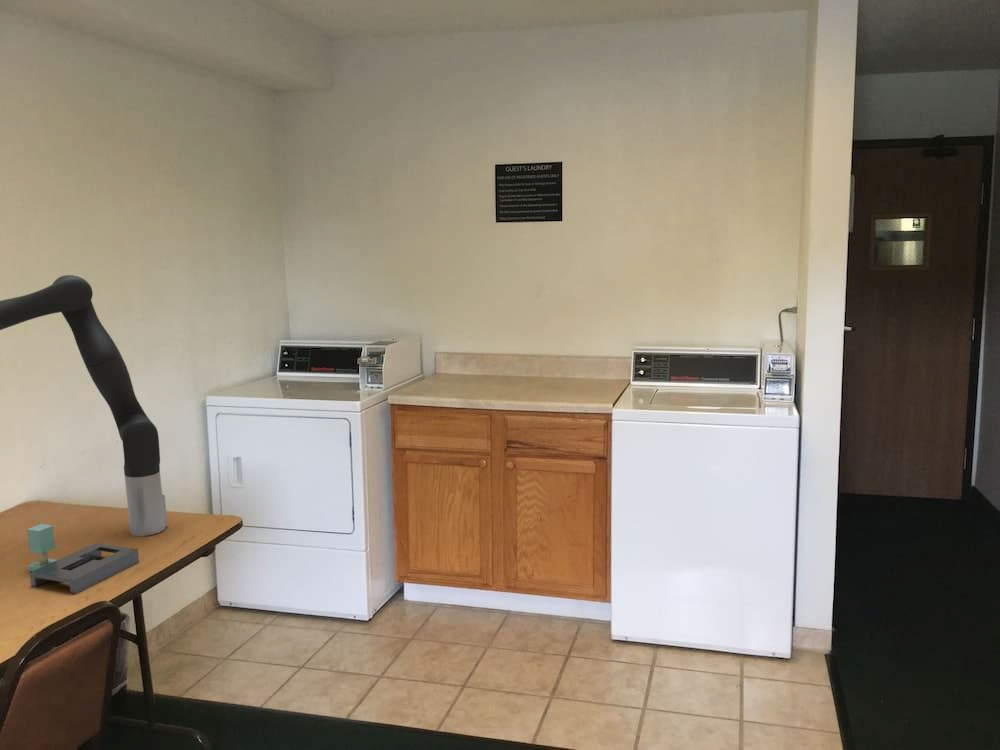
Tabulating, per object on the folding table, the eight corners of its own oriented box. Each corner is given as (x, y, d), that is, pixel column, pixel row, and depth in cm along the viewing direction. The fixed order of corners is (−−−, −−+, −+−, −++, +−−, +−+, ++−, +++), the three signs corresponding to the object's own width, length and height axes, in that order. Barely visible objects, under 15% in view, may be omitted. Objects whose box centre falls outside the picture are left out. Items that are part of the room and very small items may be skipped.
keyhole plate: (97, 555, 217) (96, 542, 216) (139, 561, 212) (137, 549, 212) (31, 586, 199) (29, 572, 198) (75, 594, 194) (73, 580, 193)
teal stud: (45, 563, 212) (41, 523, 210) (60, 566, 210) (55, 525, 208) (28, 571, 208) (23, 529, 206) (43, 573, 206) (38, 532, 204)
